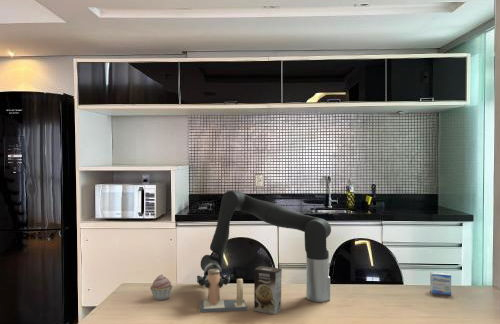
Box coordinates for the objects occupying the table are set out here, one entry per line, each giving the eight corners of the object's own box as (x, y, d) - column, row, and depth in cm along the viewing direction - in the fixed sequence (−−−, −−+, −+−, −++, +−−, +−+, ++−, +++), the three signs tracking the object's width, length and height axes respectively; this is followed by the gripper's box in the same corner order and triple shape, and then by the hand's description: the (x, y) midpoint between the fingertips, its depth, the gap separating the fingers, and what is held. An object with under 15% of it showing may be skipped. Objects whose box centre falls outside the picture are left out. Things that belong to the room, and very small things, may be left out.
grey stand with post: (244, 302, 162) (244, 274, 162) (246, 310, 153) (246, 281, 153) (199, 304, 160) (199, 276, 160) (199, 312, 151) (199, 282, 151)
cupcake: (174, 300, 164) (174, 276, 164) (151, 303, 161) (151, 278, 161) (170, 293, 173) (170, 270, 173) (148, 296, 170) (148, 272, 170)
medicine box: (431, 293, 174) (431, 273, 174) (430, 290, 178) (430, 271, 178) (451, 295, 172) (451, 275, 172) (449, 292, 176) (449, 272, 176)
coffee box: (253, 311, 153) (253, 268, 153) (260, 305, 158) (260, 265, 158) (275, 315, 148) (275, 271, 148) (281, 309, 154) (282, 268, 154)
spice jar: (219, 299, 159) (219, 268, 159) (220, 303, 154) (220, 271, 154) (207, 299, 158) (207, 268, 158) (207, 303, 154) (208, 272, 154)
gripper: (196, 265, 170) (195, 276, 153) (229, 264, 171) (232, 275, 154) (196, 282, 170) (195, 296, 153) (229, 281, 171) (232, 294, 154)
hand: (214, 285), depth 154 cm, fingers closed on spice jar, 4 cm apart
